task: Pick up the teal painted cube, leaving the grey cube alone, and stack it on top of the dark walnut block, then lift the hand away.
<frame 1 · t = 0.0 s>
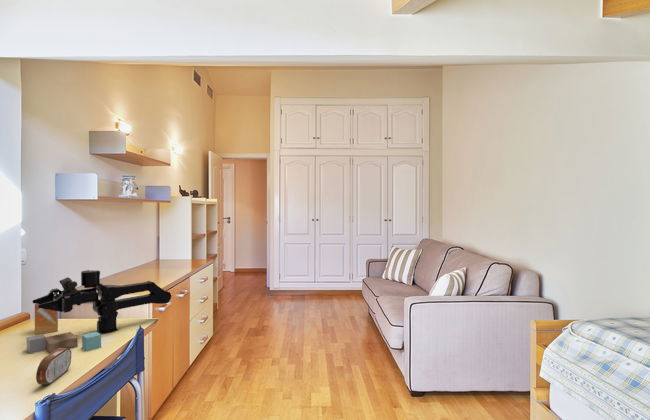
hand: (35, 304, 151), 17 cm above the table, tool horizontal, fingers open, 9 cm apart
grey cube: (36, 350, 148), on the table
walnut block: (60, 347, 152), on the table
small box: (46, 331, 169), on the table
teal cube: (91, 347, 151), on the table
tin: (55, 378, 126), on the table
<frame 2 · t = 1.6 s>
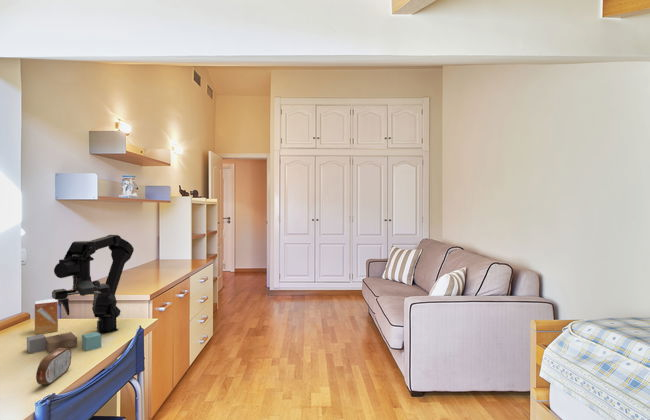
hand: (81, 312, 155), 12 cm above the table, tool pointing down, fingers open, 9 cm apart
nothing on the table moved.
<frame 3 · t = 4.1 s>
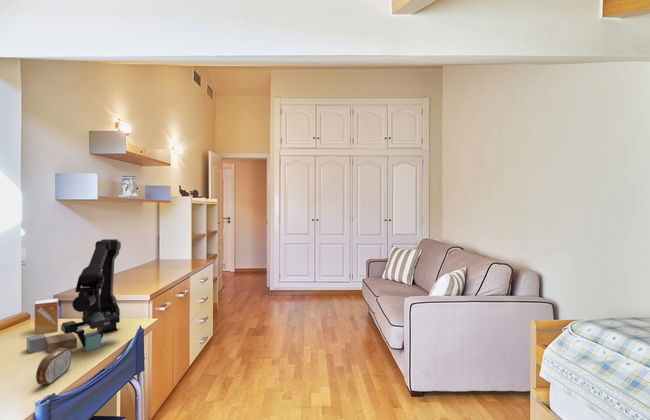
hand: (91, 344, 151), 1 cm above the table, tool pointing down, fingers closed on teal cube, 5 cm apart
teal cube: (91, 347, 151), on the table, touching gripper
everything else where it was.
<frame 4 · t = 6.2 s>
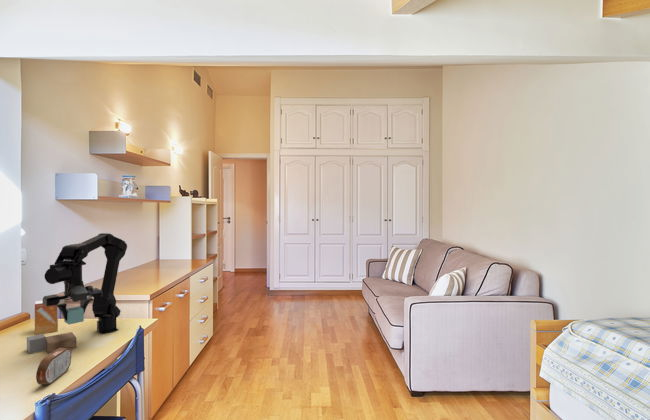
hand: (73, 318, 151), 11 cm above the table, tool pointing down, fingers closed on teal cube, 5 cm apart
teal cube: (74, 321, 151), point 10 cm above the table, touching gripper
everything else where it was.
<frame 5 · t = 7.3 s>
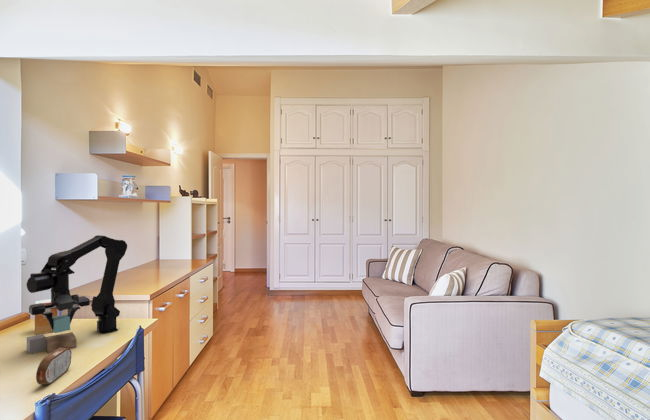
hand: (60, 327, 151), 8 cm above the table, tool pointing down, fingers closed on teal cube, 5 cm apart
teal cube: (60, 330, 151), point 7 cm above the table, touching gripper
everything else where it was.
when the fingers open (6 cm above the table, at t = 8.3 s): teal cube drops 2 cm, point 4 cm above the table.
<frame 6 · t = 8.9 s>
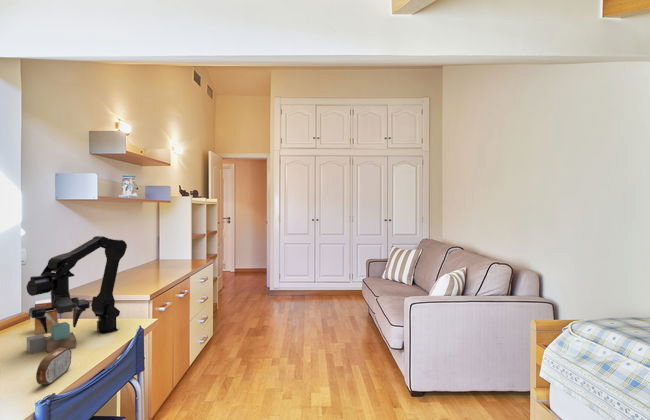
hand: (60, 330, 151), 6 cm above the table, tool pointing down, fingers open, 9 cm apart
teal cube: (60, 337, 151), point 4 cm above the table
everything else where it was.
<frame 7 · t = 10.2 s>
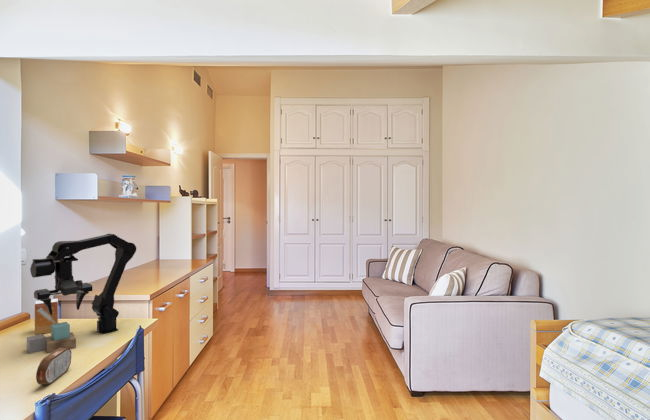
hand: (64, 312, 157), 12 cm above the table, tool pointing down, fingers open, 9 cm apart
nothing on the table moved.
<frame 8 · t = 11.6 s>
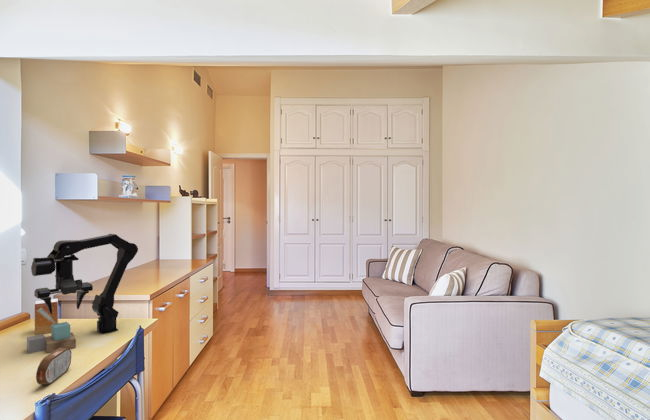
hand: (64, 311, 157), 12 cm above the table, tool pointing down, fingers open, 9 cm apart
walnut block: (60, 348, 151), on the table, touching teal cube
teal cube: (60, 337, 151), point 4 cm above the table, touching walnut block
everything else where it was.
at the end: teal cube 0.3 cm off-centre on the walnut block, point 4.0 cm above the walnut block's base; teal cube tilted 0°; the gripper is holding nothing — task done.
